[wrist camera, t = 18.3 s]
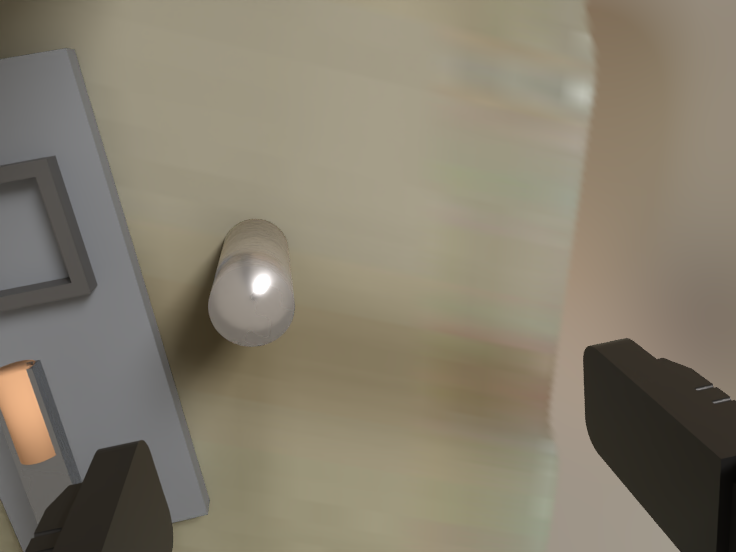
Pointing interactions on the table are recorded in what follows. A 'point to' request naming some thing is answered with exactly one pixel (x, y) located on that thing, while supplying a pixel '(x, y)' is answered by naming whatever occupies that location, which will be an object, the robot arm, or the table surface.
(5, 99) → the grey flat base
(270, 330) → the translucent white cylinder
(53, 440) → the lever
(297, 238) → the table surface
